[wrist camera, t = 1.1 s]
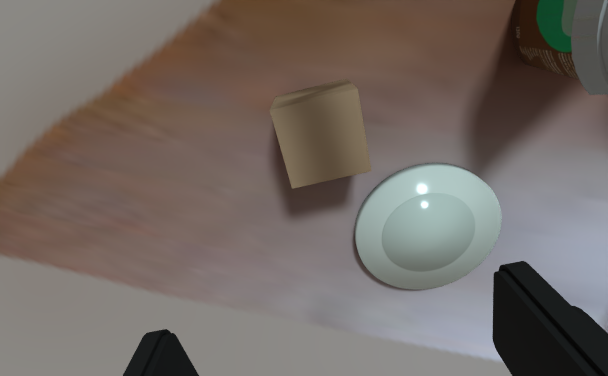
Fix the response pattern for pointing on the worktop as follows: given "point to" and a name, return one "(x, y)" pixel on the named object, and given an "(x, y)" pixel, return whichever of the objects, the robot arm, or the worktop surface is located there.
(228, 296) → the worktop surface
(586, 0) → the food container
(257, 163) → the worktop surface
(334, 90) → the walnut block
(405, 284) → the dish
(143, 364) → the robot arm
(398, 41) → the worktop surface
